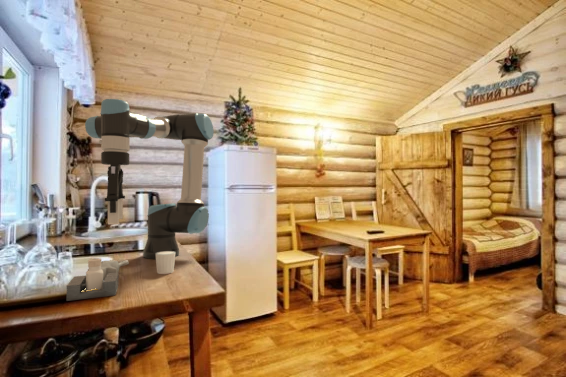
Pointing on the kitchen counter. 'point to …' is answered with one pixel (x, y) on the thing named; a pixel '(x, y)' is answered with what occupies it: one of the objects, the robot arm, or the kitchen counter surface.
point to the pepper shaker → (94, 275)
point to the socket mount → (80, 284)
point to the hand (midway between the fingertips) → (115, 221)
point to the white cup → (165, 262)
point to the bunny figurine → (111, 266)
